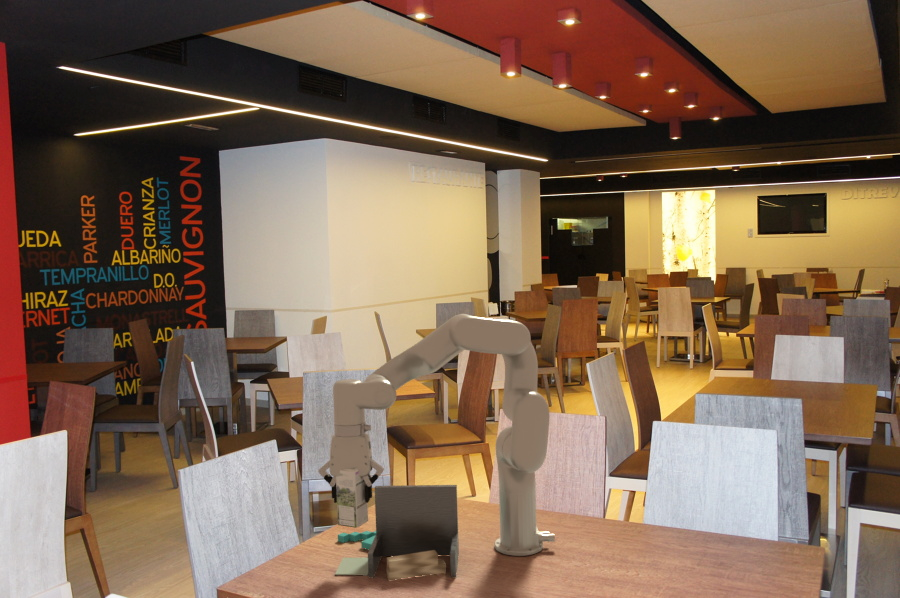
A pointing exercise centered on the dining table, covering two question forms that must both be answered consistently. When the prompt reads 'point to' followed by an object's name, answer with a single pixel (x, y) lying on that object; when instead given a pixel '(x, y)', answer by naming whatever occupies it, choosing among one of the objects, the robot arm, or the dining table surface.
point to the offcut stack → (414, 565)
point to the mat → (353, 566)
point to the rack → (415, 522)
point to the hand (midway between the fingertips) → (352, 500)
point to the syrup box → (351, 499)
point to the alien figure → (358, 538)
